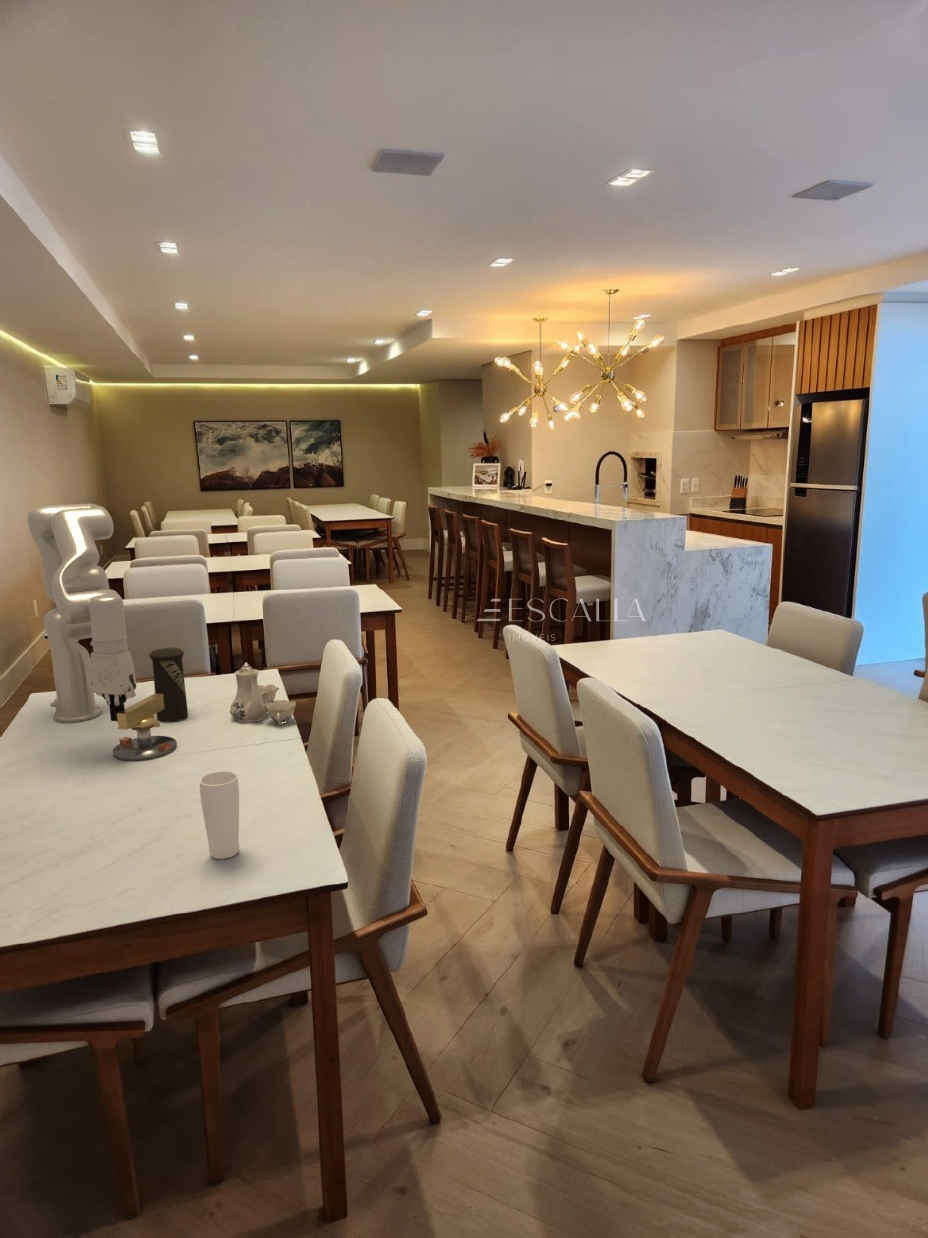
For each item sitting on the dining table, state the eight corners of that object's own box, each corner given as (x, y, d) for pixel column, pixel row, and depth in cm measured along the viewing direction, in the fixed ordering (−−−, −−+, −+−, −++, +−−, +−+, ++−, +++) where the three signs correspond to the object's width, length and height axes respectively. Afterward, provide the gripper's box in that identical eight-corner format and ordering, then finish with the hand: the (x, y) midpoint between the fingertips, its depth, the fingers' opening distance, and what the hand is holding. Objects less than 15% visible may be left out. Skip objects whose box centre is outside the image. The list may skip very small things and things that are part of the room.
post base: (99, 756, 196) (96, 733, 195) (144, 736, 210) (142, 714, 209) (146, 764, 191) (144, 741, 189) (189, 743, 204) (187, 721, 203)
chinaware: (306, 729, 219) (309, 670, 216) (247, 736, 209) (249, 674, 207) (269, 704, 241) (271, 650, 239) (214, 709, 232) (215, 653, 229)
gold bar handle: (107, 736, 192) (105, 712, 191) (146, 715, 207) (143, 692, 206) (139, 738, 190) (137, 714, 189) (176, 716, 206) (174, 694, 205)
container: (178, 724, 219) (172, 653, 215) (149, 722, 221) (142, 652, 217) (195, 714, 228) (189, 646, 223) (166, 712, 229) (160, 644, 225)
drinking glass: (210, 845, 151) (203, 771, 148) (246, 843, 152) (241, 770, 149) (201, 863, 145) (195, 786, 141) (239, 861, 145) (233, 784, 142)
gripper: (73, 648, 189) (81, 722, 192) (125, 652, 184) (133, 727, 188) (95, 641, 196) (103, 712, 200) (147, 644, 191) (154, 717, 195)
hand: (118, 719), depth 194 cm, fingers closed
